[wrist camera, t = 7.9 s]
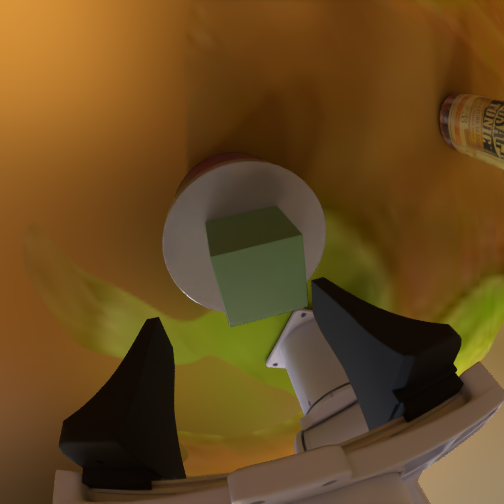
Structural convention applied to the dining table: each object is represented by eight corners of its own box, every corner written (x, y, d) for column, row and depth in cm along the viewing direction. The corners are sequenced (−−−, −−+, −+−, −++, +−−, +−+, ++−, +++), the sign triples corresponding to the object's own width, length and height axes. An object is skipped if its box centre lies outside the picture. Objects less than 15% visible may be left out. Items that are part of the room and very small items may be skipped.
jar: (312, 172, 22) (351, 194, 16) (268, 278, 25) (288, 323, 20) (191, 131, 19) (190, 137, 13) (156, 253, 22) (148, 297, 17)
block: (277, 205, 16) (302, 234, 12) (285, 267, 18) (308, 306, 14) (204, 222, 15) (209, 256, 12) (220, 283, 17) (229, 327, 14)
